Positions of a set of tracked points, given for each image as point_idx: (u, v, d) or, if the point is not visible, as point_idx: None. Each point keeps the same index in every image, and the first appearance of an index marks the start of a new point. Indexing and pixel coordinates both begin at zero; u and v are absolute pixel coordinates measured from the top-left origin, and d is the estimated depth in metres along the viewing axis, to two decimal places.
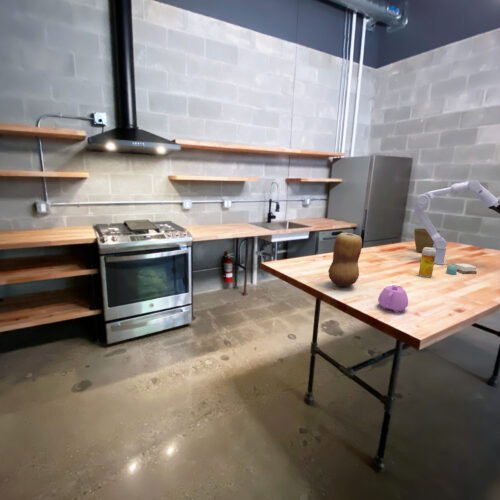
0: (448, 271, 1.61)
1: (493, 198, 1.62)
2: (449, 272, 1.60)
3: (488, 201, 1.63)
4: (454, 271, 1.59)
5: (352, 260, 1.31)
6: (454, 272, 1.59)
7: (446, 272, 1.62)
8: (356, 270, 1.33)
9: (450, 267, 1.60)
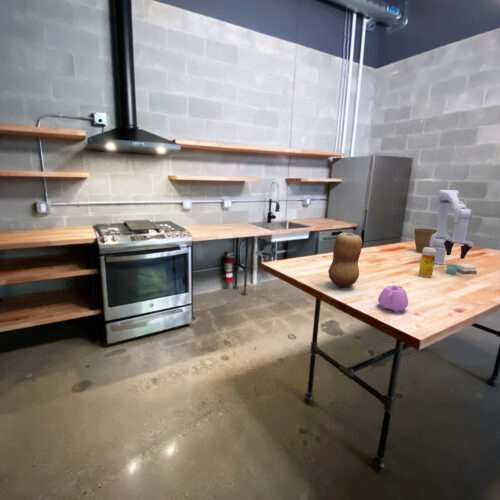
0: (448, 271, 1.61)
1: (452, 236, 1.58)
2: (449, 272, 1.60)
3: None
4: (454, 271, 1.59)
5: (352, 260, 1.31)
6: (454, 272, 1.59)
7: (446, 272, 1.62)
8: (356, 270, 1.33)
9: (450, 267, 1.60)
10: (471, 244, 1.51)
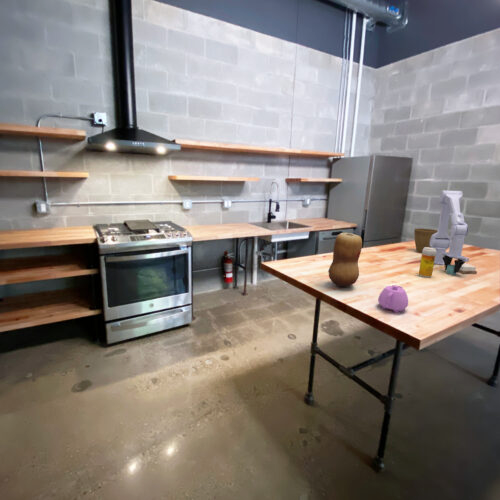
0: (448, 271, 1.61)
1: None
2: (449, 272, 1.60)
3: None
4: None
5: (352, 260, 1.31)
6: None
7: (446, 272, 1.62)
8: (356, 270, 1.33)
9: (450, 267, 1.60)
10: (467, 260, 1.53)
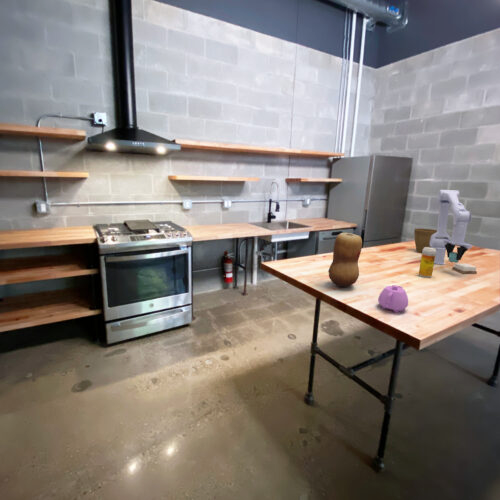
0: (450, 258, 1.59)
1: (451, 238, 1.59)
2: (451, 259, 1.59)
3: None
4: None
5: (352, 260, 1.31)
6: (456, 259, 1.58)
7: (448, 260, 1.60)
8: (356, 270, 1.33)
9: (452, 254, 1.58)
10: (469, 246, 1.51)
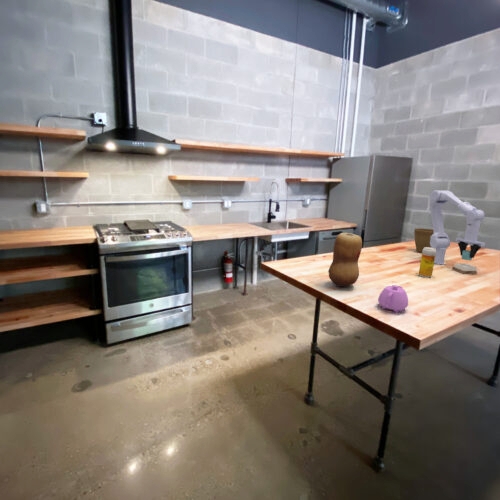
0: (464, 256, 1.63)
1: None
2: (465, 257, 1.62)
3: None
4: None
5: (352, 260, 1.31)
6: None
7: None
8: (356, 270, 1.33)
9: (466, 252, 1.62)
10: (483, 244, 1.55)
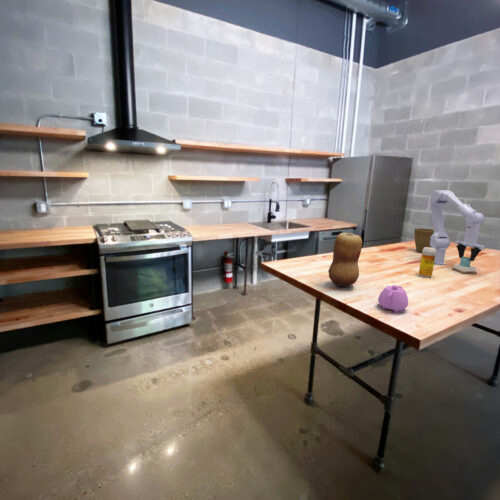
0: (462, 263, 1.64)
1: (464, 239, 1.63)
2: (463, 264, 1.63)
3: None
4: (468, 263, 1.62)
5: (352, 260, 1.31)
6: (468, 264, 1.62)
7: (460, 264, 1.65)
8: (356, 270, 1.33)
9: (464, 259, 1.63)
10: (482, 247, 1.55)
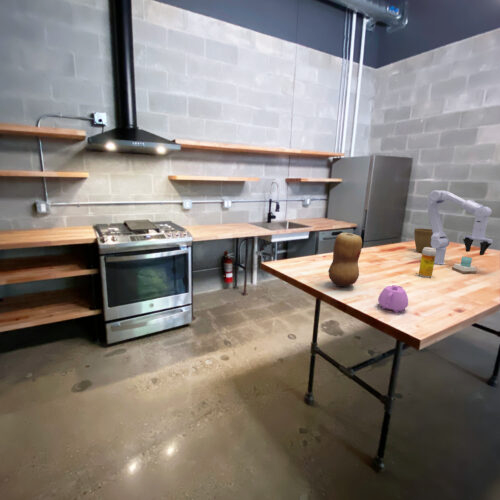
0: (463, 263, 1.63)
1: (472, 233, 1.64)
2: (464, 264, 1.63)
3: None
4: (469, 263, 1.62)
5: (352, 260, 1.31)
6: (469, 264, 1.62)
7: (460, 264, 1.65)
8: (356, 270, 1.33)
9: (465, 259, 1.62)
10: (490, 241, 1.56)
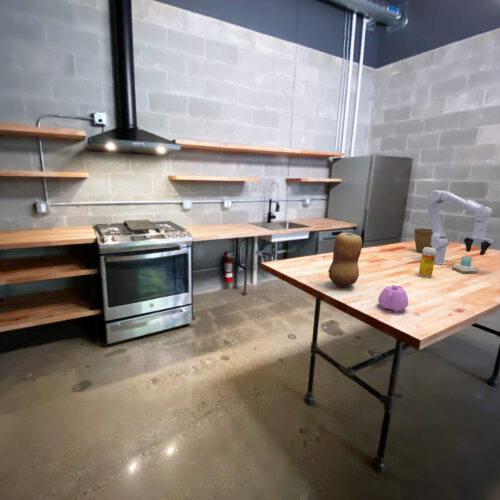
0: (463, 263, 1.64)
1: (472, 233, 1.64)
2: (464, 264, 1.63)
3: None
4: (469, 262, 1.62)
5: (352, 260, 1.31)
6: (469, 263, 1.62)
7: (461, 264, 1.65)
8: (356, 270, 1.33)
9: (465, 259, 1.63)
10: (491, 241, 1.56)
